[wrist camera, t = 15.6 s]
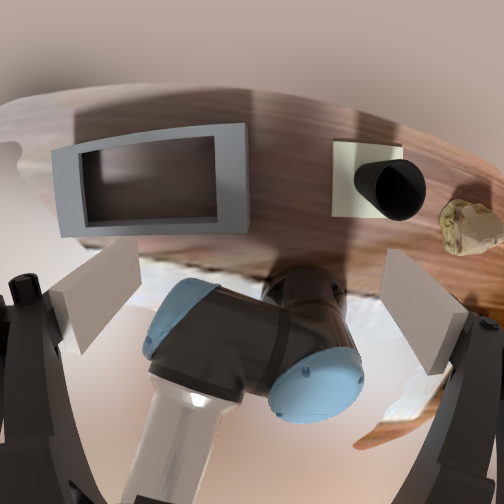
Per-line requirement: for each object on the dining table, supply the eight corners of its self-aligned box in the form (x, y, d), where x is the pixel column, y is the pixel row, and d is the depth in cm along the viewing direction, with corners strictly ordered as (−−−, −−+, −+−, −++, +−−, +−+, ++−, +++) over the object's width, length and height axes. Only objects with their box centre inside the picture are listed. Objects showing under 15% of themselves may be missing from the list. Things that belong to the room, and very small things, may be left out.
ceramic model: (438, 259, 47) (465, 280, 38) (437, 201, 44) (468, 213, 34) (488, 246, 46) (517, 263, 36) (489, 193, 42) (521, 203, 33)
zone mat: (397, 217, 45) (399, 218, 45) (331, 216, 46) (332, 216, 45) (401, 147, 41) (402, 147, 41) (332, 141, 42) (333, 141, 41)
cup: (371, 213, 45) (400, 233, 33) (337, 182, 43) (360, 192, 32) (399, 179, 42) (436, 188, 31) (367, 146, 41) (398, 146, 30)
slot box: (250, 221, 47) (247, 233, 40) (82, 227, 49) (61, 237, 42) (248, 127, 42) (244, 122, 36) (74, 148, 44) (51, 150, 37)
